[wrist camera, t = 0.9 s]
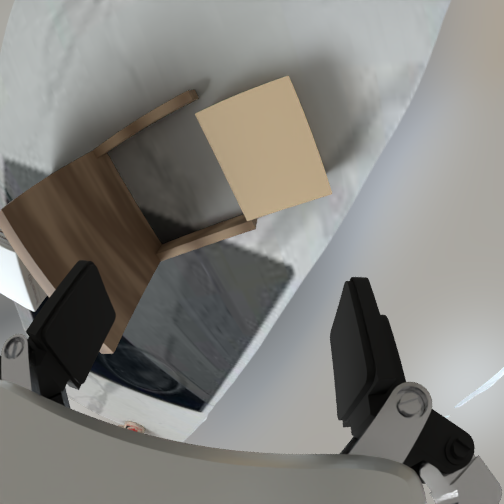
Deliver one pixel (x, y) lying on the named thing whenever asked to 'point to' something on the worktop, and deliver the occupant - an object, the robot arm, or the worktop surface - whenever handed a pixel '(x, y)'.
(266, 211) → the carton
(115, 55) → the worktop surface
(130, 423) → the teacup with lid
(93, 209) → the display stand
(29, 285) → the supplement box
